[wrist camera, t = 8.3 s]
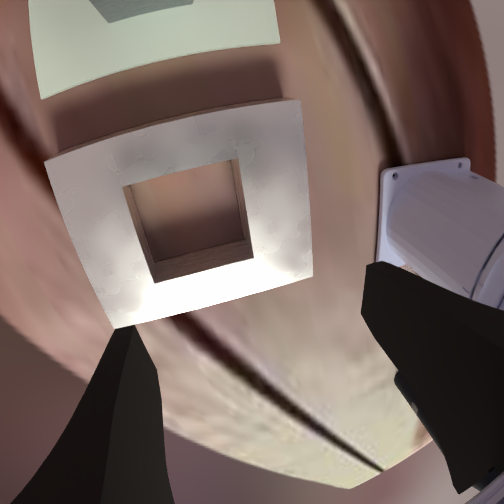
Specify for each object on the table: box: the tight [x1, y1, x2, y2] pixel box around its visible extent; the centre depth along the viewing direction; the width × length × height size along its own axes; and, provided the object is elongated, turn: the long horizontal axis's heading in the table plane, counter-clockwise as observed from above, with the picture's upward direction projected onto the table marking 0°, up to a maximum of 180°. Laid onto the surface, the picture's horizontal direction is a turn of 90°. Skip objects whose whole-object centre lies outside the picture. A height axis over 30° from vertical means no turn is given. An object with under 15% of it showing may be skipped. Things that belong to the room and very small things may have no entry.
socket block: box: [44, 98, 313, 329], centre depth 16 cm, size 12×10×2 cm
